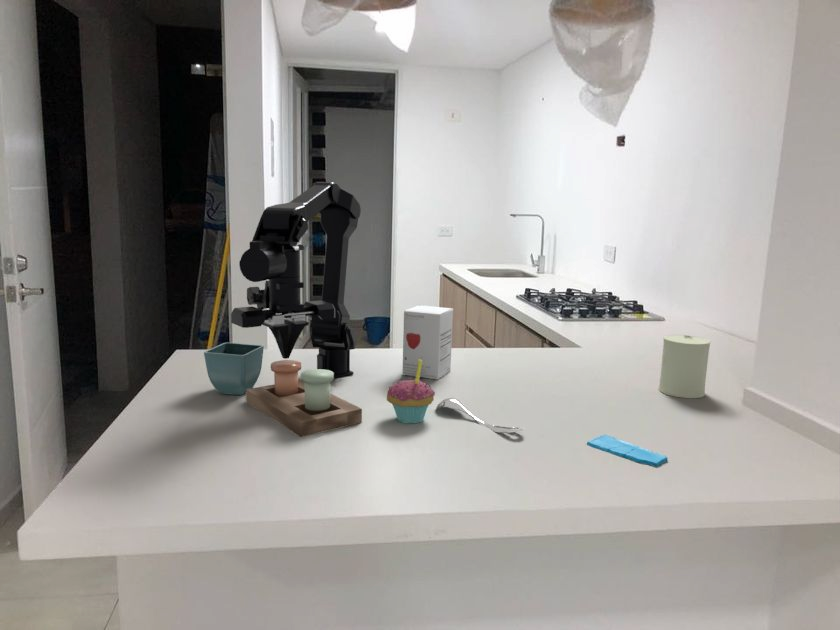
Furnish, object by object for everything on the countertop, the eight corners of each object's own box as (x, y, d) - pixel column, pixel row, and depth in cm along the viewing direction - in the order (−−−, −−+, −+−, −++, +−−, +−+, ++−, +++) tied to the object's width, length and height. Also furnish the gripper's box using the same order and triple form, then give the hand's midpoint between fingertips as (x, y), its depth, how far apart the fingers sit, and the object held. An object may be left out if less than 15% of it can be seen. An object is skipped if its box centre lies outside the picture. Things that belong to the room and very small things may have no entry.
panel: (302, 391, 125) (302, 379, 124) (361, 422, 108) (361, 408, 107) (246, 401, 117) (245, 389, 117) (300, 437, 100) (300, 422, 100)
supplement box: (400, 375, 138) (402, 310, 135) (416, 366, 146) (417, 304, 144) (438, 380, 135) (440, 313, 132) (451, 370, 143) (454, 307, 140)
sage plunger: (323, 399, 111) (323, 367, 110) (339, 407, 107) (339, 374, 106) (295, 405, 108) (295, 372, 107) (311, 413, 104) (310, 379, 103)
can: (705, 389, 133) (710, 335, 131) (704, 401, 125) (711, 343, 123) (659, 383, 137) (664, 330, 135) (656, 394, 128) (662, 338, 126)
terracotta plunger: (293, 388, 121) (292, 358, 120) (306, 395, 116) (306, 364, 115) (266, 393, 117) (265, 362, 116) (279, 400, 113) (279, 369, 112)
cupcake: (439, 414, 113) (441, 351, 111) (424, 430, 105) (426, 362, 103) (396, 408, 115) (397, 347, 113) (378, 423, 108) (379, 357, 105)
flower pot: (245, 399, 119) (244, 355, 117) (204, 396, 120) (202, 351, 119) (265, 387, 127) (264, 345, 125) (226, 383, 129) (225, 342, 127)
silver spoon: (531, 414, 103) (513, 420, 100) (531, 434, 104) (513, 441, 101) (448, 393, 118) (430, 397, 115) (448, 411, 119) (430, 415, 115)
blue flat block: (648, 467, 91) (670, 454, 94) (583, 441, 100) (606, 430, 104) (648, 476, 91) (670, 463, 95) (583, 450, 101) (606, 438, 104)
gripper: (308, 269, 125) (308, 344, 127) (218, 274, 113) (221, 356, 116) (336, 275, 116) (336, 355, 119) (242, 280, 105) (245, 369, 107)
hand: (285, 358), depth 115 cm, fingers closed
